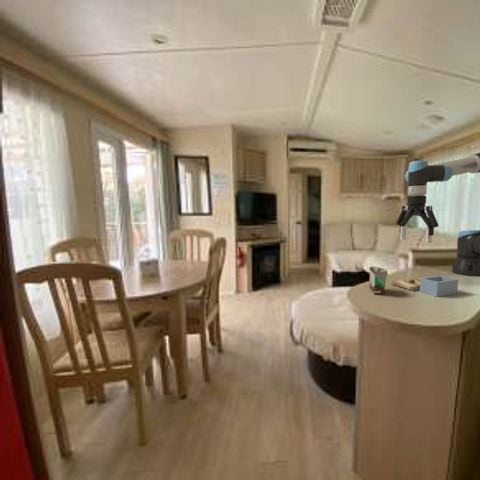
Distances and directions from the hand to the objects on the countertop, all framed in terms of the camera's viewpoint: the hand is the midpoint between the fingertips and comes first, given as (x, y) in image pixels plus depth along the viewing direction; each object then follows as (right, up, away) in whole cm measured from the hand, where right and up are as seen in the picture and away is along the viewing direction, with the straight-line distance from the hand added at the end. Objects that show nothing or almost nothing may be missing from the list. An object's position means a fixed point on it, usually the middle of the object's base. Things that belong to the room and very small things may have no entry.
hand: (415, 241), depth 148 cm
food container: (-22, -22, -10) cm, 33 cm away
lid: (-3, -20, -3) cm, 21 cm away
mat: (-3, -21, -3) cm, 21 cm away
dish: (+3, -22, -13) cm, 25 cm away
